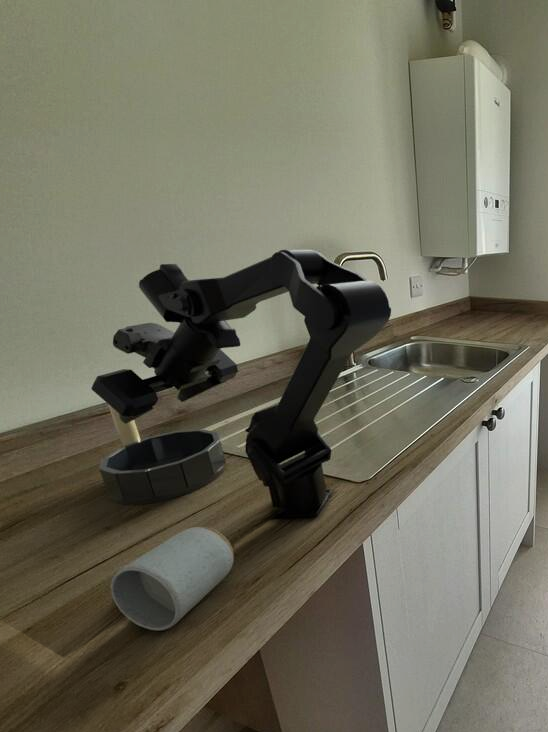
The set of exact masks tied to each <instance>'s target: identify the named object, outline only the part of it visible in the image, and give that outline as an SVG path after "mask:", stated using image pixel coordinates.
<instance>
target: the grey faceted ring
mask: <svg viewBox="0 0 548 732" xmlns="http://www.w3.org/2000/svg"><path fill="white" fill-rule="evenodd" d="M107 405H108V408H109V411H110V414H111V417H112V420H113V423H114V425H115V428H116V432H117V434H118V438H119V440H120V444H121V446H120V447H119V448H117V449H115V450H114V451H112V452H111V453H109V454H108V455H106V456H104V457H103V458H101V461H100V463H99V467H98V471H99V473H100V475H101V478H102V481H103V483H104V486H105V489H106V491H107V494H108V496H110V497H111V499H112V500H113V501H114V502H115V503H118V504H121V505H129V506H137V505H139V506H140V505H149V504H154V503H159V502H164V501H169V500H171V499H175V498H178V497H183V496H185V495H187V494H189V493H192V492H194V491H197V490H199V489H201V488H204V487H205V486H207V485H209V484H210V483H212V482H213V481H215V480H216V479H217V478H219V477H220V476H221V475H222V474H223V473H224V472H225V470H226V469H227V462H226V458H225V453H224V450H223V446H222V443H221V438H220V434H219V433H218V432H217V431H213V430H208V429H204V428H200V429H199V428H197V429H186V430H185V429H183V430H175V431H170V432H165V433H161V434H155V435H151V436H147V437H145V438H141V436H140V432H139V429H138V427H137V423H136V419H134V420H133V421H131V422H129V423H126V424H125V423H124V422H122V421H121V420H120V417H119V413H118V412H117V411H116V410H115V409H114V408H112V407H111V406H110V405H109V404H108V403H107Z"/></svg>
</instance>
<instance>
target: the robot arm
mask: <svg viewBox="0 0 548 732" xmlns="http://www.w3.org/2000/svg"><path fill="white" fill-rule="evenodd" d="M314 285H317V286H314ZM138 288H139V290H140V291H141V292H142V293H143V295H144V296H145V298H147V300H148V301H149V302H150V304H151V305H152V306H153V307H154V308H155V310H156V311H157V312H158V314H159V315H160V316H161V317H162V318H163V320H164V321H165V322H166V323H179V325H178V326H177V328H176V330H175V331H173V330H171V329H169V328H167V327H165V326H164V325H163V326H162V325H161V324H159V323H155V322H146V323H145V322H144V323H139V324H134V325H127V326H126V327H123V328H120V329H117V331H116V332H115V334H113V336H112V345H113V347H114V348H115V349H117V350H118V351H121V352H123V353H125V354H126V355H129V354H133V353H135V354H137V355H139V356H140V357H142V358H144V359H143V361H142V363H143V364H144V365H145V366H146V367H147V368H148V369H154V370H153V372H154V375H153V376H150V377H147V378H144V379H143V378H142V377H140V376H139V375H138V373H136V372H135V371H134V370H133V369H128V368H126V369H125V368H123V369H119V370H116V371H112V372H107V373H104V374H100V375H98V376H96V378H95V380H94V381H93V383H92V385H91V388H90V389H91V391H92V392H94V393H95V394H96V395H97V396H98V397H99V398H101V399H102V400H103V401H104V402H105V403H107V405H108V404H109V405H110V406H111V407H112V408H114V409H115V410H116V411H117V412H118V413H119V417H120V420H121V421H122V422H124V423H125V424H126V423H129V422H131V421H133V420H136V419H138V418H140V417H141V416H144V415H145V414H147V413H149V412H150V411H152V410H154V406H156V405H157V403H158V401H159V397H158V394H160V393H163V392H167V391H169V390H172V389H176V390H177V391H179V392H178V394H177V399H178V400H179V401H180V402H181V403H184V402H186V401H188V400H190V399H193V398H194V397H197V396H198V395H201V394H203V393H204V392H207V391H209V390H211V389H214V388H216V387H217V386H220V385H223V384H224V383H226V382H227V381H230V380H232V379H234V378H235V377H236V375H237V374H238V372H239V368H238V364H237V363H236V362H235V361H234V360H233V359H232V358H231V357H229V355H228V354H226V353H225V352H224V351H223V350H222V349H226V348H227V349H229V348H237V347H241V339H240V338H239V336H238V334H237V330H236V328H233V327H232V326H231V325H230V324H229V323H228V322H227V321H232V320H239V319H244V318H246V317H248V315H250V314H251V313H253V312H255V310H257V305H258V304H259V303H260V302H263V301H266V300H269V299H272V298H275V297H278V296H280V295H283V294H285V293H289V296H290V301H291V304H292V306H293V308H294V309H295V310H296V311H298V313H300V314H301V315H302V316H304V318H303V322H304V325H305V328H306V330H307V333H308V336H309V340H308V342H307V344H306V345H305V348H304V350H303V352H302V354H301V357H300V358H299V361H298V363H297V365H296V367H295V368H294V371H293V373H292V375H291V377H290V379H289V381H288V383H287V385H286V388H285V389H284V391H283V393H282V395H281V397H280V399H279V402H278V403H277V404H275V405H273V406H270V407H267V408H264V409H261V410H259V411H256V412H255V413H254V414H253V415H252V416H251V419H250V423H249V426H248V427H247V428H245V429H244V431H245V432H246V433H247V435H246V438H245V445H244V448H245V453H246V456H247V458H248V460H249V463H250V465H251V467H252V469H253V471H254V473H255V475H256V477H257V478H258V481H261V482H262V484H263V486H264V487H267V488H268V491H269V496H270V501H271V504H272V507H275V508H281V509H282V511H280V512H279V513H277V514H276V515H274V516H273V517H272V518H271V519H272V520H281V519H282V520H284V519H305V518H306V519H307V518H316V517H318V516H319V515H320V513H321V511H322V510H323V508H324V506H326V503H327V502H328V500H329V498H330V496H332V489H327V487H326V486H327V485H326V480H325V474H324V468H323V464H324V463H326V462H329V461H330V460H331V456H332V448H331V447H330V446H329V445H328V444H327V442H326V441H325V439H324V438H323V437H322V436H321V435H320V433H319V427H318V426H317V423H316V421H315V418H316V417H317V415H318V414H319V411H320V410H321V408H322V406H323V405H324V403H325V401H326V399H327V398H328V395H330V392H331V390H332V389H333V387H334V385H335V384H336V382H337V380H338V379H339V377H340V375H341V373H342V371H343V370H344V368H345V366H346V364H347V363H348V361H349V360H350V357H351V356H352V355H353V353H355V351H357V350H358V349H359V348H361V347H362V346H364V345H365V344H366V343H368V342H369V341H371V340H372V339H373V338H375V337H376V336H377V334H378V333H380V331H381V330H382V329H383V328H384V327H385V326H386V325H387V323H389V321H390V318H391V316H392V315H391V314H392V307H390V302H389V299H388V297H387V294H386V292H385V290H384V289H383V288H382V286H381V285H379V284H378V283H377V282H375V281H372V280H369V279H367V278H365V277H364V276H363V275H362V274H360V273H358V272H356V271H354V270H351V269H349V268H347V267H345V266H343V265H341V264H337V263H335V262H333V261H332V260H330V259H329V258H327V256H325V255H323V253H321V252H319V251H316V250H314V249H311V248H310V249H306V248H305V249H304V248H303V249H280V250H278V251H276V252H274V253H273V254H272V255H271V256H269V257H268V258H265V259H263V260H261V261H258V262H255V263H254V264H251V265H249V266H247V267H244V268H242V269H240V270H238V271H235V272H233V273H230V274H228V275H226V276H223V277H216V278H215V277H214V278H201V279H191V280H190V279H188V278H187V276H186V275H185V273H184V272H183V271H182V269H181V267H179V265H178V264H177V263H161V264H160V265H159V269H156V270H153V271H151V272H149V273H148V274H146V275H145V276H144V277H143V278H141V279H140V280H139V282H138Z"/></svg>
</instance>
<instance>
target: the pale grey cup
mask: <svg viewBox="0 0 548 732" xmlns="http://www.w3.org/2000/svg"><path fill="white" fill-rule="evenodd" d="M233 549H234V548H233V546H232V544H231V543H230V541H229V540H228V538H227V537H226V536H224V534H222V533H221V532H219V531H218V530H216V529H215V528H211V527H209V526H204V525H198V526H193V527H190V528H187V529H184V530H183V531H180V532H178V533H176V534H175V535H173V536H171V537H170V538H168V539H167V540H166V541H164V542H162V543H161V544H159V545H158V546H157V545H156V547H154V548H152V549H151V550H149V551H148V552H146V553H144V554H142V555H141V556H139V557H138V558H136V559H134V560H133V561H131V562H129V563H128V564H126V565H125V566H123V567H121V568H120V569H119V570H118V571H117V572H116V573H115V574H114V575H113V576H112V578H111V581H110V593H111V598H112V599H113V602H114V603H115V605H116V606H117V608H118V610H119V611H120V612H121V613H122V614H123V615H124V616H125V617H126V618H127V619H128V620H129V621H130V622H132V623H134V624H135V625H137V626H139V627H141V628H144V629H147V630H150V631H160V632H161V631H165V630H168V629H171V628H172V627H173V626H175V625H176V624H177V623H178V622H179V621H181V620H182V618H183V617H184V616H186V614H188V613H189V612H190V611H191V610H192V608H194V607H195V606H196V605H197V604H199V602H201V600H203V598H204V597H206V596H207V595H208V594H209V593H210V592H211V591H212V590H213V589H215V588H216V586H218V585H219V584H220V583H221V582H222V581H223V580H224V579H225V578H226V576H227V575H228V574H229V572H230V571H231V569H232V567H233V566H234V562H235V553H234V550H233Z"/></svg>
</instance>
